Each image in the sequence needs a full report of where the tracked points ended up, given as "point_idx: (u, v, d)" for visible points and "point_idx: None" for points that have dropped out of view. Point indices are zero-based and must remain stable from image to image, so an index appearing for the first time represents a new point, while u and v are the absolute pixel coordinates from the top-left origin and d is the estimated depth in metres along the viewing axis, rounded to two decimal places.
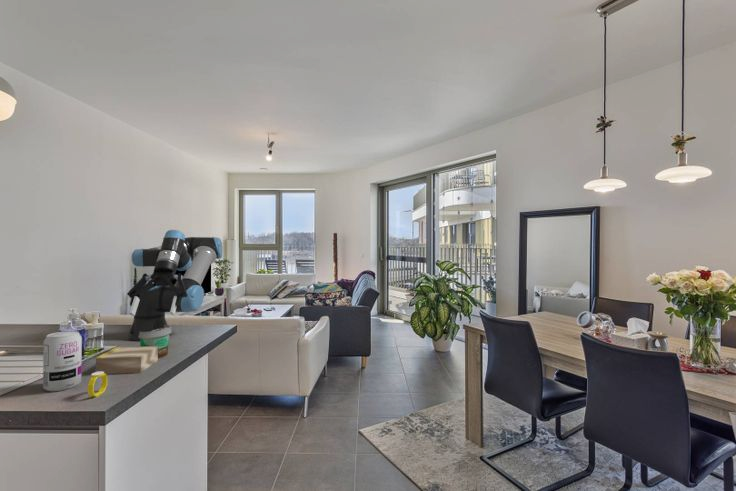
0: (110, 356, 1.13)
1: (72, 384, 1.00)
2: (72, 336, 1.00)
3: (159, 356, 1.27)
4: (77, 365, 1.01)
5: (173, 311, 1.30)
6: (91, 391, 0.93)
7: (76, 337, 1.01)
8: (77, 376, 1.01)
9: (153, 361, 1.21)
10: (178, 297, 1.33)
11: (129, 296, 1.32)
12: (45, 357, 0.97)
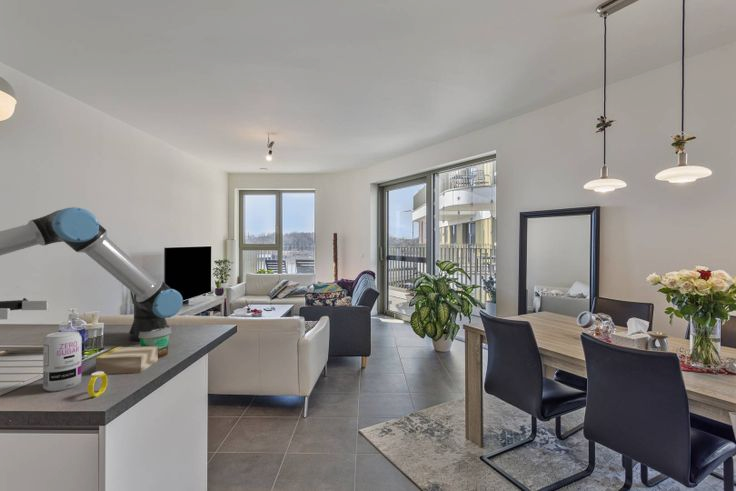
0: (110, 356, 1.13)
1: (72, 384, 1.00)
2: (72, 336, 1.00)
3: (159, 356, 1.27)
4: (77, 365, 1.01)
5: (4, 315, 0.93)
6: (91, 391, 0.93)
7: (76, 337, 1.01)
8: (77, 376, 1.01)
9: (153, 361, 1.21)
10: None
11: None
12: (45, 357, 0.97)
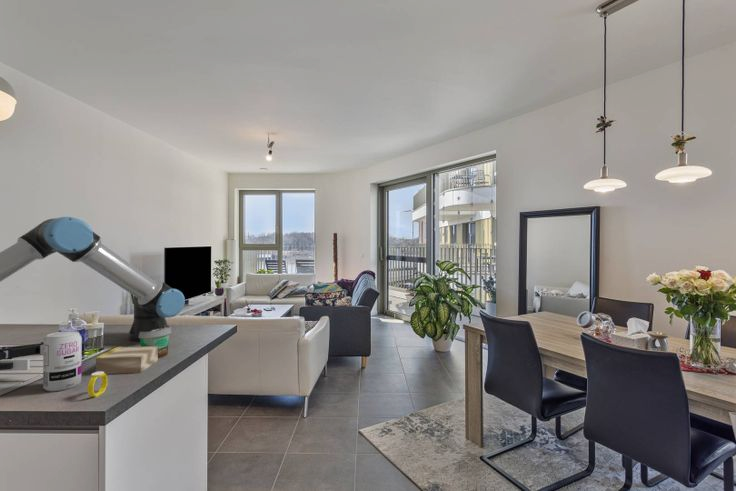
0: (110, 356, 1.13)
1: (72, 384, 1.00)
2: (72, 336, 1.00)
3: (159, 356, 1.27)
4: (77, 365, 1.01)
5: (24, 366, 0.93)
6: (91, 391, 0.93)
7: (76, 337, 1.01)
8: (77, 376, 1.01)
9: (153, 361, 1.21)
10: None
11: None
12: (45, 357, 0.97)
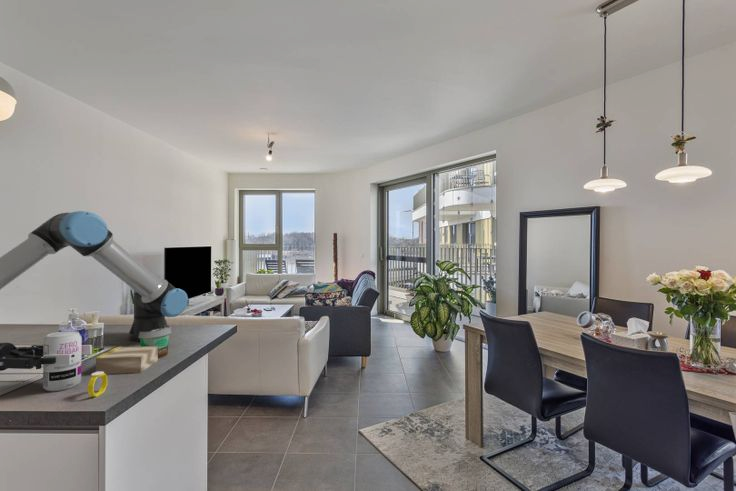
0: (110, 356, 1.13)
1: (72, 384, 1.00)
2: (72, 336, 1.00)
3: (159, 356, 1.27)
4: (77, 365, 1.01)
5: (66, 361, 0.97)
6: (91, 391, 0.93)
7: (76, 337, 1.01)
8: (76, 376, 1.01)
9: (153, 361, 1.21)
10: None
11: None
12: None
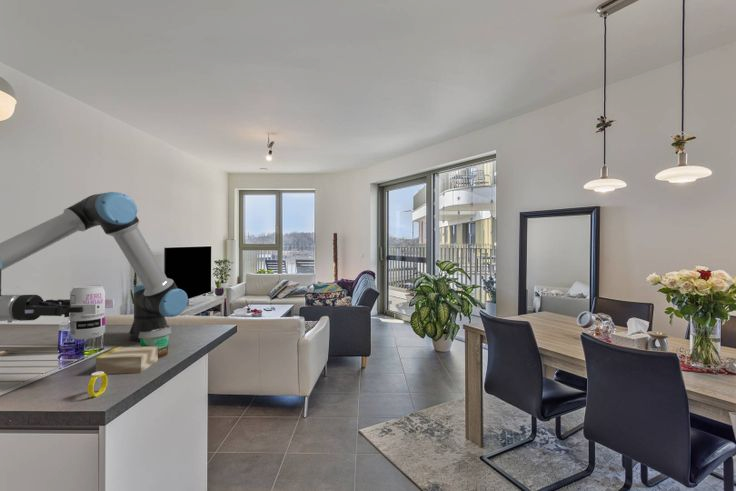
0: (110, 356, 1.13)
1: (97, 333, 1.06)
2: (97, 288, 1.06)
3: (159, 356, 1.27)
4: (101, 316, 1.07)
5: (93, 310, 1.03)
6: (91, 391, 0.93)
7: (100, 290, 1.07)
8: (101, 326, 1.07)
9: (153, 361, 1.21)
10: None
11: None
12: None
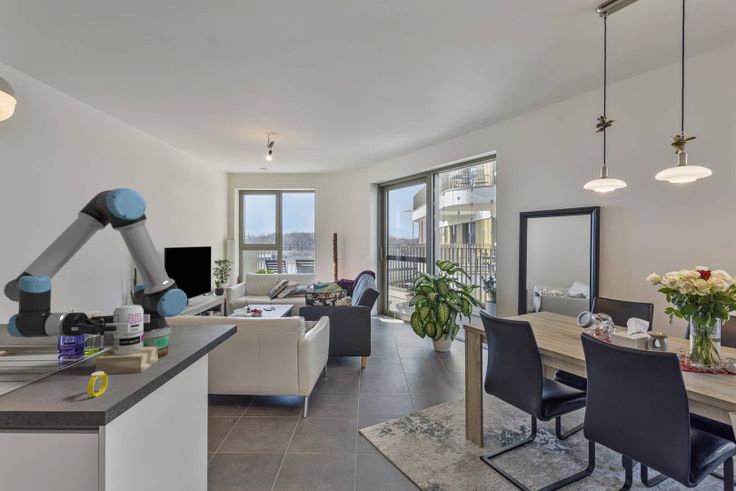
0: (110, 356, 1.13)
1: (137, 349, 1.16)
2: (137, 308, 1.16)
3: (159, 356, 1.27)
4: (141, 333, 1.17)
5: (125, 329, 1.11)
6: (91, 391, 0.93)
7: (140, 309, 1.17)
8: (140, 343, 1.17)
9: (153, 361, 1.21)
10: None
11: None
12: None
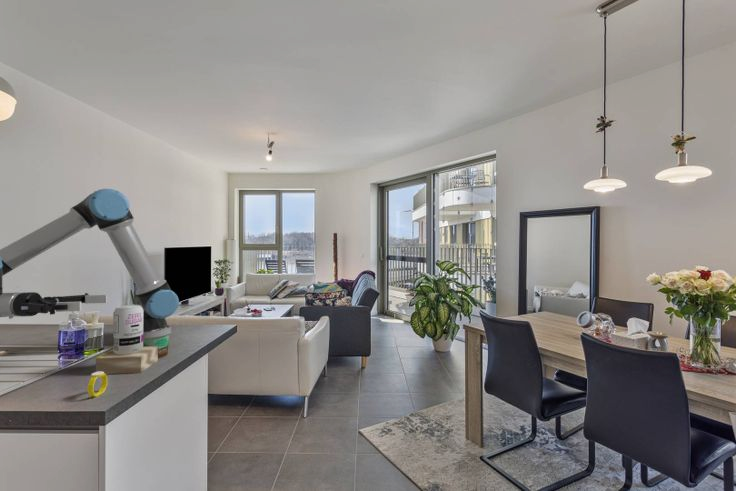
0: (110, 356, 1.13)
1: (137, 349, 1.16)
2: (137, 308, 1.16)
3: (159, 356, 1.27)
4: (141, 333, 1.17)
5: (77, 307, 1.08)
6: (91, 391, 0.93)
7: (140, 309, 1.17)
8: (140, 343, 1.17)
9: (153, 361, 1.21)
10: (55, 309, 1.07)
11: None
12: (115, 325, 1.14)
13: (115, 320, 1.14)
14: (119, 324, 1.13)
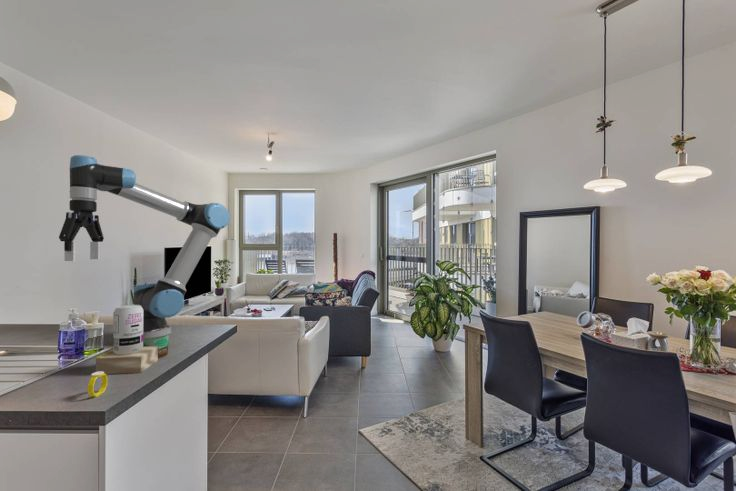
0: (110, 356, 1.13)
1: (137, 349, 1.16)
2: (137, 308, 1.16)
3: (159, 356, 1.27)
4: (141, 333, 1.17)
5: (67, 259, 1.19)
6: (91, 391, 0.93)
7: (140, 309, 1.17)
8: (140, 343, 1.17)
9: (153, 361, 1.21)
10: None
11: None
12: (115, 325, 1.14)
13: (115, 320, 1.14)
14: (119, 324, 1.13)
